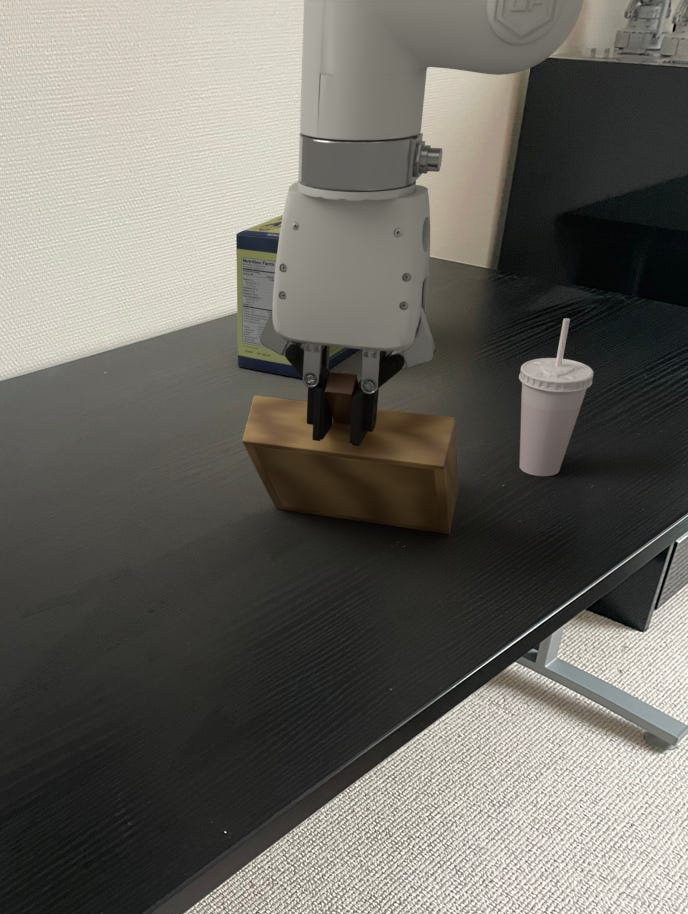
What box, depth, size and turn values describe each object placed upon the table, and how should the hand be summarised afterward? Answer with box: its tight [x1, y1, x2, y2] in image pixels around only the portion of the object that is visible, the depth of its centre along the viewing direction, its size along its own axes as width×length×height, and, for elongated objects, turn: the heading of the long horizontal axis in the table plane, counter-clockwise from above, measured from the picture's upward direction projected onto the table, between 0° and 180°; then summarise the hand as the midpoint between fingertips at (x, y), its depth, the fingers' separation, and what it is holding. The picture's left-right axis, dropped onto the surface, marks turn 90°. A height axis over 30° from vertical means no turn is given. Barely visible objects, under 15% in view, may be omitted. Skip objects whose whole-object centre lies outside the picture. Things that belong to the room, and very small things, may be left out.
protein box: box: [235, 214, 359, 379], centre depth 118 cm, size 10×16×16 cm
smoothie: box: [518, 317, 594, 477], centre depth 90 cm, size 6×6×14 cm
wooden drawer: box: [241, 371, 460, 535], centre depth 78 cm, size 16×18×4 cm
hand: (340, 434), depth 73 cm, fingers closed on wooden drawer, 2 cm apart
